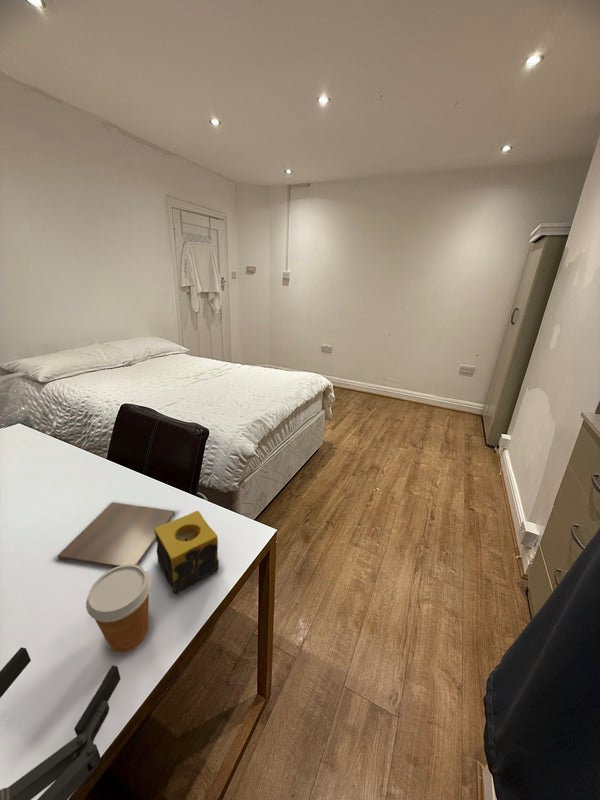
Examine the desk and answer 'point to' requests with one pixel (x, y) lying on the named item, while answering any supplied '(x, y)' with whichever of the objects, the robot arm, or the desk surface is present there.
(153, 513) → the placemat
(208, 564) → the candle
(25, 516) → the desk surface
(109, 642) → the disposable coffee cup
